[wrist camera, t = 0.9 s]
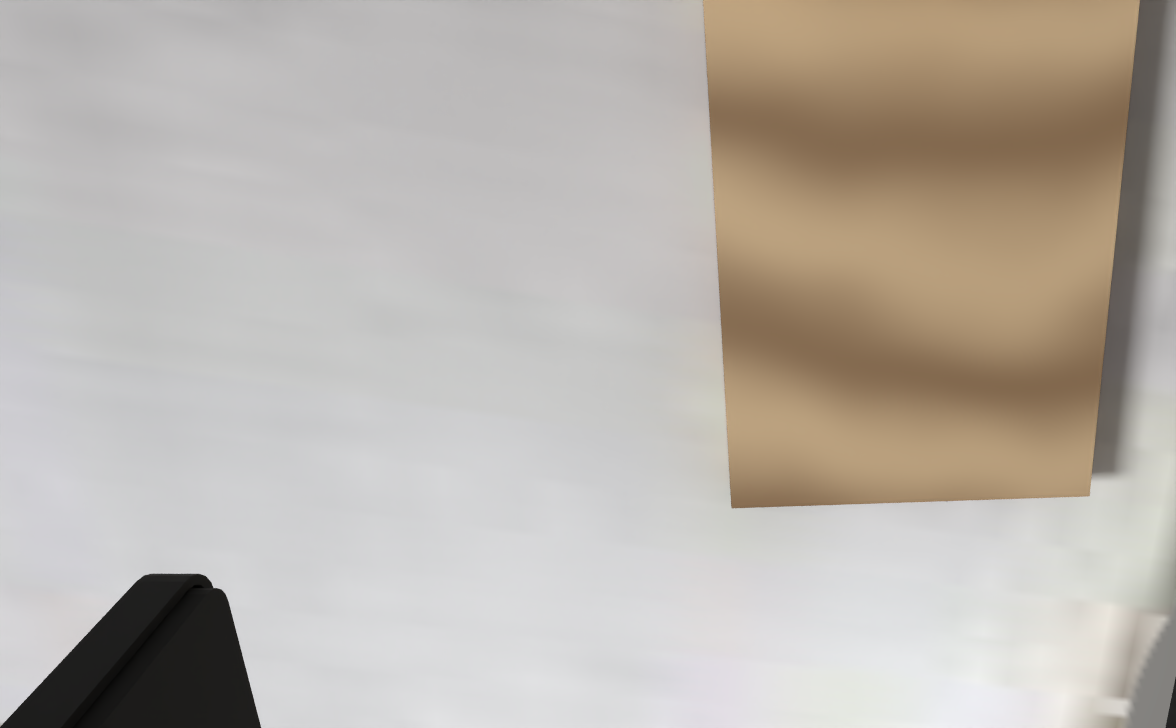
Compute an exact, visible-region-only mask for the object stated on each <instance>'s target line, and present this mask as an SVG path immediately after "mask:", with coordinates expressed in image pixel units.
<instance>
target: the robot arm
mask: <svg viewBox="0 0 1176 728" xmlns="http://www.w3.org/2000/svg"><path fill="white" fill-rule="evenodd" d="M0 728H261V726H260V722H259V718H258V714H257V710H256V706H255V703H254V699H253V695H252V691H251V687H250V683H249V679H248V676H247V672H246V668H245V664H244V660H243V656H242V652H241V649H240V645H239V641H238V637H237V633H236V629H235V625H234V622H233V618H232V614H231V610H230V606H229V602H228V599H227V597H226V594H225V593H224V592H223V591H222V590H221V589H218V588H213V586H212V583H211V582H210V580H209V579H208V578H207V577H206V576H204V575H201V574H149V575H145V576H143V577H142V578H140V579H139V580H138V581H137V582H136V583H135V584H134V585H133V586H132V587H131V588H130V589H129V590H128V591H127V592H126V593H125V594H124V595H123V596H122V598H121V599H120V600H119V601H118V602H117V603H116V604H115V605H114V606H113V607H112V608H111V609H110V610H109V611H108V612H107V614H106V615H105V616H104V617H103V618H102V619H101V620H100V621H99V622H98V623H97V624H96V625H95V626H94V627H93V628H92V630H91V631H90V632H89V633H88V634H87V635H86V636H85V637H84V638H83V639H82V640H81V641H80V642H79V643H78V645H77V646H76V647H75V648H74V649H73V650H72V651H71V652H70V653H69V654H68V655H67V656H66V657H65V658H64V659H63V661H62V662H61V663H60V664H59V665H58V666H57V667H56V668H55V669H54V670H53V671H52V672H51V673H50V674H49V675H48V677H47V678H46V679H45V680H44V681H43V682H42V683H41V684H40V685H39V686H38V687H37V688H36V689H35V690H34V691H33V693H32V694H31V695H30V696H29V697H28V698H27V699H26V700H25V701H24V702H23V703H22V704H21V705H20V706H19V707H18V709H17V710H16V711H15V712H14V713H13V714H12V715H11V716H10V717H9V718H8V719H7V720H6V721H5V722H4V723H3V725H2V726H1V727H0ZM1166 728H1176V679H1175V684H1174V689H1173V694H1172V699H1171V703H1170V709H1169V713H1168V718H1167V723H1166Z"/></svg>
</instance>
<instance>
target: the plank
mask: <svg viewBox="0 0 1176 728" xmlns="http://www.w3.org/2000/svg"><path fill="white" fill-rule="evenodd" d="M1139 4H1140V0H703V6H704V24H705V42H706V60H707V78H708V96H709V113H710V131H711V149H712V167H713V185H714V203H715V221H716V239H717V257H718V275H719V293H720V310H721V328H722V346H723V364H724V382H725V400H726V418H727V436H728V454H729V472H730V489H731V506H732V508H752V507H781V506H811V505H841V504H871V503H901V502H931V501H961V500H990V499H1020V498H1050V497H1080V496H1089V495H1090V485H1091V475H1092V466H1093V456H1094V446H1095V436H1096V426H1097V416H1098V407H1099V397H1100V387H1101V377H1102V367H1103V357H1104V348H1105V338H1106V328H1107V318H1108V308H1109V299H1110V289H1111V279H1112V269H1113V259H1114V249H1115V240H1116V230H1117V220H1118V210H1119V200H1120V190H1121V181H1122V171H1123V161H1124V151H1125V141H1126V132H1127V122H1128V112H1129V102H1130V92H1131V82H1132V73H1133V63H1134V53H1135V43H1136V33H1137V23H1138V14H1139Z"/></svg>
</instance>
